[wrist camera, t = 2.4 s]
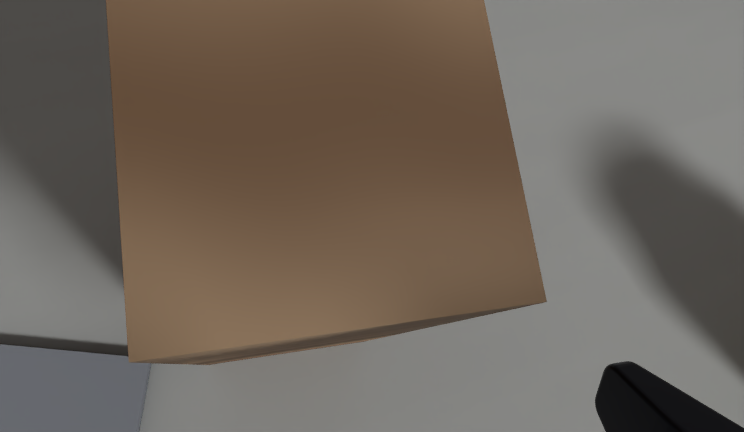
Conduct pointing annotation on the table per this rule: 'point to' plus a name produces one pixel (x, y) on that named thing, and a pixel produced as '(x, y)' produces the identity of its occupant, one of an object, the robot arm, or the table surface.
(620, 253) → the table surface
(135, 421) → the mat
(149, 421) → the table surface
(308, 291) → the walnut block
